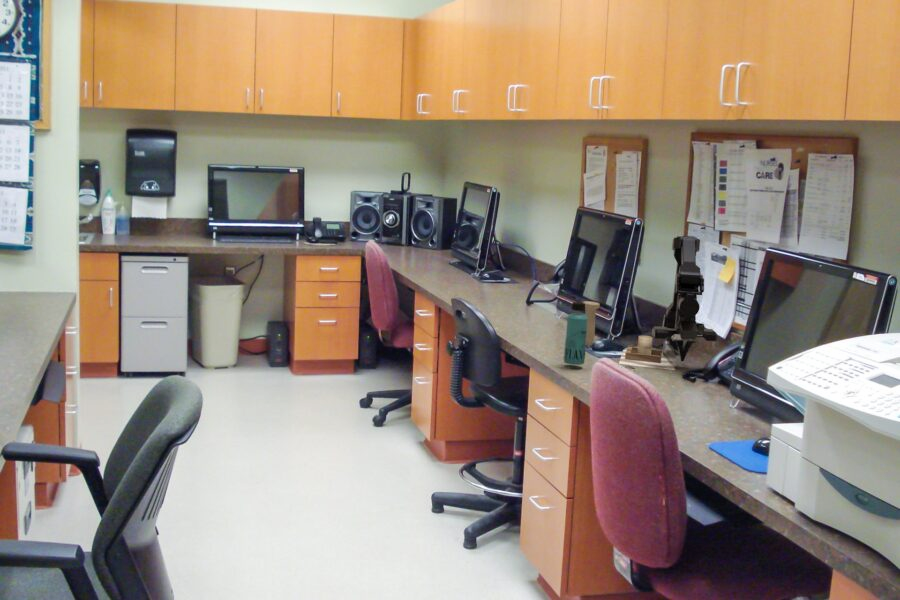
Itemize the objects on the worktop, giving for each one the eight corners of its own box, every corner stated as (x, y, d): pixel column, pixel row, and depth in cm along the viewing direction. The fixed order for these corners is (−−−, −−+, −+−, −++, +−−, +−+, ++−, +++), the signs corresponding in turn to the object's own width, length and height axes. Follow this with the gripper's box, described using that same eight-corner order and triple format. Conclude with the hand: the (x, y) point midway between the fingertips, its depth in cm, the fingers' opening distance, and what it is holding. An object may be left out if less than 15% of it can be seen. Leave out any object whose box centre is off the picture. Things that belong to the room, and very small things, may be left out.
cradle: (623, 352, 322) (623, 343, 322) (675, 358, 318) (676, 349, 318) (618, 366, 301) (619, 357, 300) (674, 373, 297) (675, 363, 297)
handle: (588, 344, 332) (592, 301, 329) (598, 348, 326) (602, 304, 323) (576, 345, 330) (580, 301, 327) (586, 349, 324) (589, 304, 321)
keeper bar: (662, 354, 317) (663, 340, 316) (667, 354, 317) (668, 340, 316) (673, 368, 297) (675, 354, 296) (679, 369, 297) (681, 354, 296)
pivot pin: (637, 354, 315) (639, 335, 314) (651, 356, 314) (652, 336, 313) (636, 357, 311) (638, 337, 310) (650, 359, 310) (652, 339, 309)
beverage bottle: (560, 367, 295) (565, 302, 292) (566, 363, 301) (571, 299, 298) (581, 370, 293) (586, 305, 290) (586, 366, 299) (592, 302, 296)
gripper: (659, 314, 290) (655, 365, 292) (723, 317, 289) (718, 368, 292) (653, 308, 301) (649, 357, 303) (714, 310, 300) (710, 360, 303)
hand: (681, 361), depth 300 cm, fingers closed
